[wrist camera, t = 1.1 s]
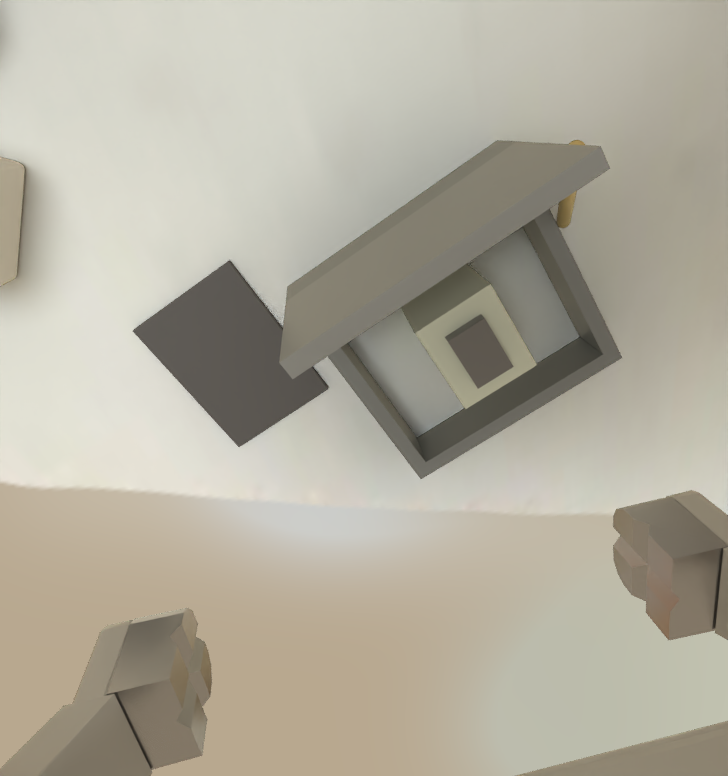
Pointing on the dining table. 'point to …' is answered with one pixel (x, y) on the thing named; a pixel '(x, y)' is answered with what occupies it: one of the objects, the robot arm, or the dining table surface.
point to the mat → (228, 355)
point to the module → (469, 335)
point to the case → (437, 261)
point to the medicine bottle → (10, 217)
